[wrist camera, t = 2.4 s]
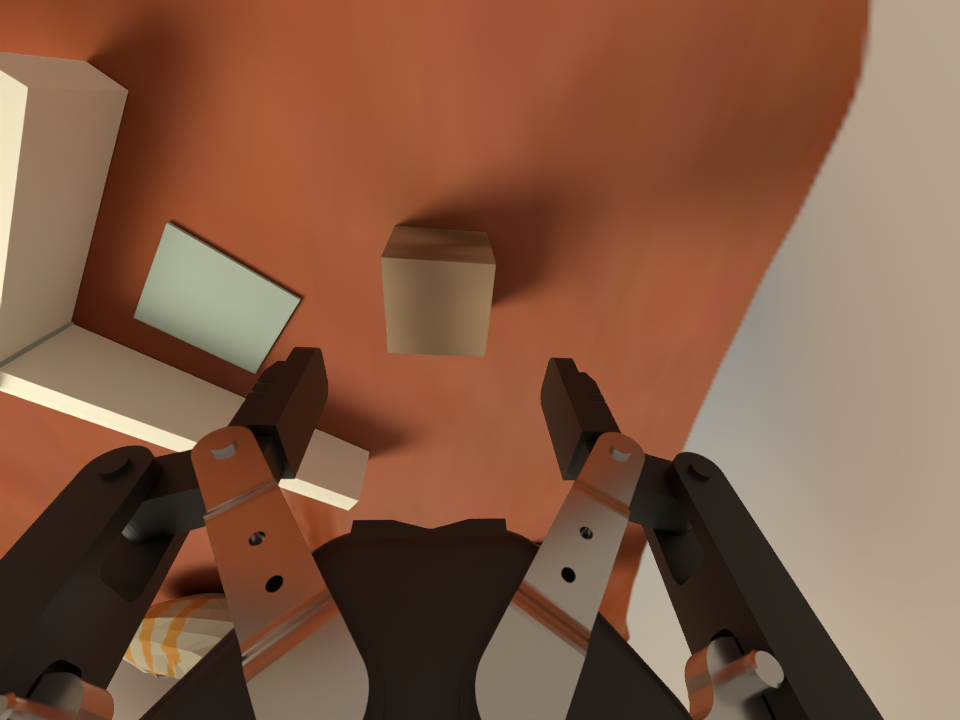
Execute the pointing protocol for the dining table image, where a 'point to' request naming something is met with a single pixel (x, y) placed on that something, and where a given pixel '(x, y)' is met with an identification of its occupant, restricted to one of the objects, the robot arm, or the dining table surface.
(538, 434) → the dining table surface
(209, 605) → the nautilus
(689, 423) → the dining table surface
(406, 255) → the block
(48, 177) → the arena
